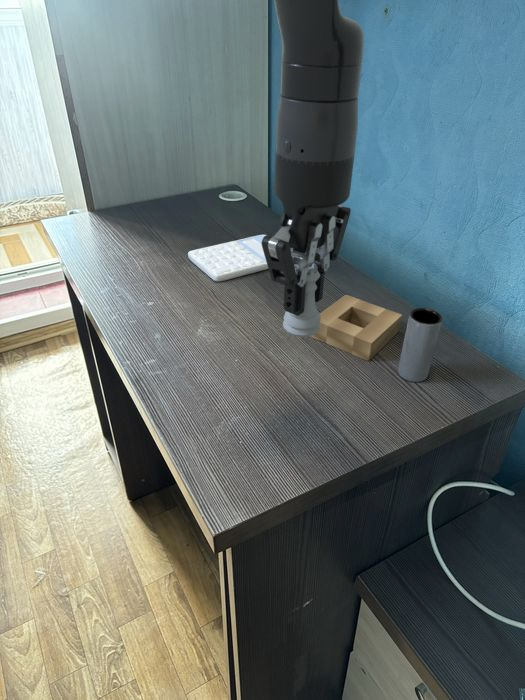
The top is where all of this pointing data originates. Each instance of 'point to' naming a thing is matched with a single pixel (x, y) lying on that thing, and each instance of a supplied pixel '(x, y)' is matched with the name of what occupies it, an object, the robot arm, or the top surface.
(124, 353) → the top surface
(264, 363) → the top surface
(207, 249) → the calculator
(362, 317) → the holder
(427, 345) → the planter
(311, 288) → the rook chess piece
